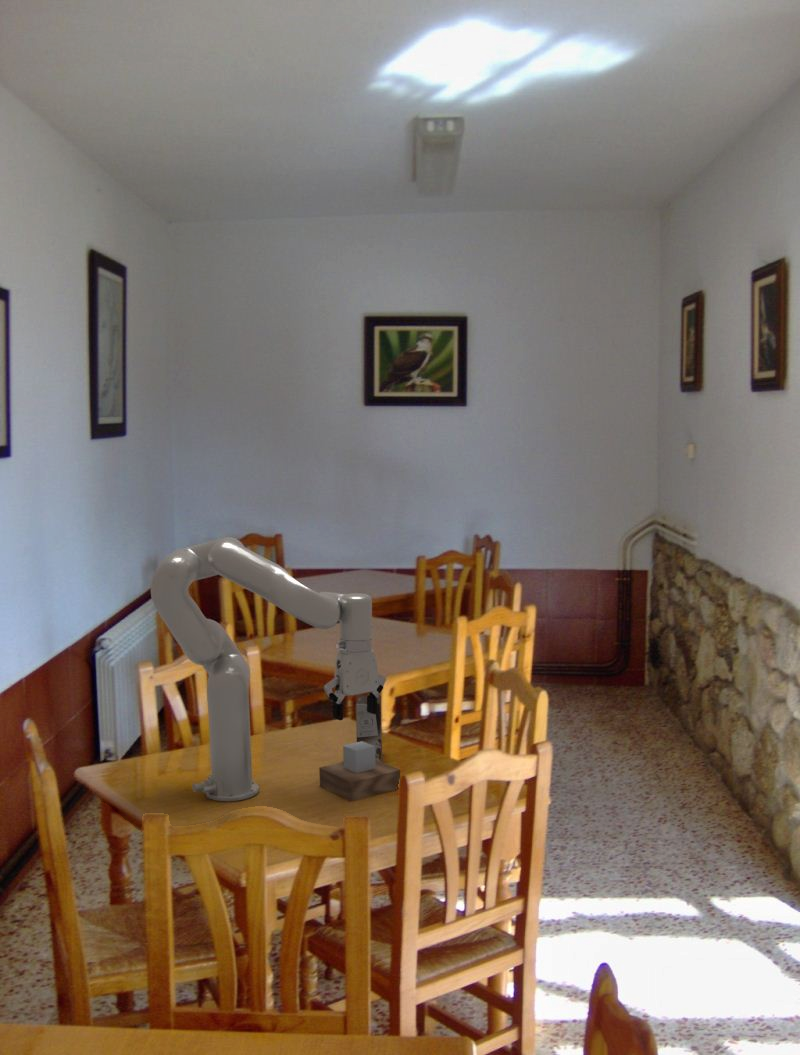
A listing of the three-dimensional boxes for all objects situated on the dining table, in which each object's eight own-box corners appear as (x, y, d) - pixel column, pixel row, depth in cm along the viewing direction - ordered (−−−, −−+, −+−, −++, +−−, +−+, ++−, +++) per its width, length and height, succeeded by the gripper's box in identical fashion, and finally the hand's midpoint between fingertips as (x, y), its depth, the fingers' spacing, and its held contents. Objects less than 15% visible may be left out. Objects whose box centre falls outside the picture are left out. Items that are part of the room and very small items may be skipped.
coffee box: (381, 764, 273) (380, 703, 272) (356, 765, 274) (355, 703, 272) (383, 753, 282) (381, 694, 281) (358, 754, 283) (357, 694, 281)
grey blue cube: (356, 773, 253) (355, 750, 252) (343, 767, 257) (343, 745, 257) (375, 768, 256) (374, 746, 256) (362, 763, 261) (362, 741, 260)
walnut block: (351, 803, 247) (351, 782, 247) (319, 787, 258) (319, 767, 258) (400, 790, 255) (400, 769, 255) (367, 775, 267) (367, 756, 266)
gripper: (333, 652, 246) (333, 725, 247) (394, 644, 256) (393, 714, 257) (316, 646, 252) (316, 717, 253) (376, 639, 262) (375, 707, 263)
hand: (355, 715), depth 255 cm, fingers open, 9 cm apart
